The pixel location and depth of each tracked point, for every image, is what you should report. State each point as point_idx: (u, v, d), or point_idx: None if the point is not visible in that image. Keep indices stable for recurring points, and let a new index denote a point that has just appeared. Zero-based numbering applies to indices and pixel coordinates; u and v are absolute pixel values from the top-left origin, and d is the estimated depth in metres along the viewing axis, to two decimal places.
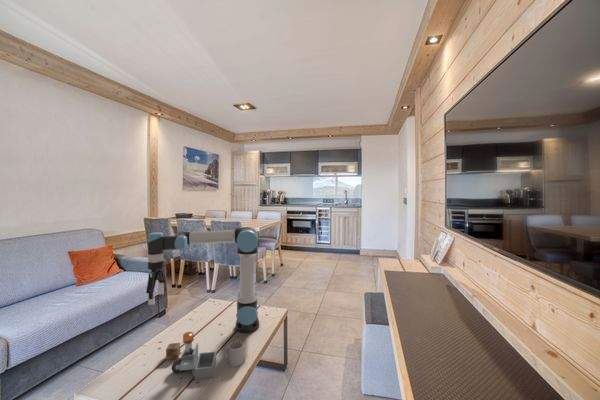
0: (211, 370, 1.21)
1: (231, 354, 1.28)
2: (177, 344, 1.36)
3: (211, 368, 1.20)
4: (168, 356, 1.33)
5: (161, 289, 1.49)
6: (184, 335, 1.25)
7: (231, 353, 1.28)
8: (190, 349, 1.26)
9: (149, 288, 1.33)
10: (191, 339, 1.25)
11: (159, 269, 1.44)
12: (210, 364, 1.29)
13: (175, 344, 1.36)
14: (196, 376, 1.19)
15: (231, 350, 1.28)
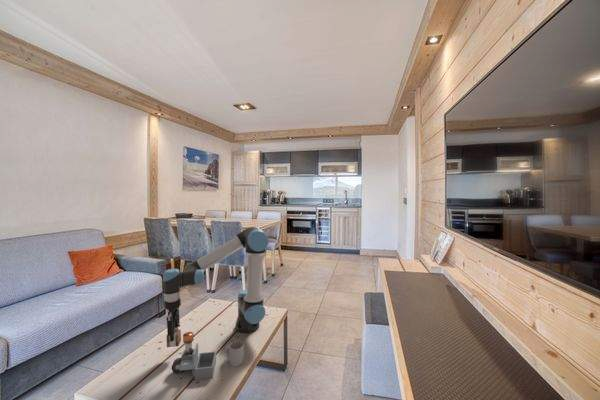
0: (211, 370, 1.21)
1: (231, 354, 1.28)
2: (177, 331, 1.36)
3: (211, 368, 1.20)
4: (168, 343, 1.32)
5: None
6: (184, 335, 1.25)
7: (231, 353, 1.28)
8: (190, 349, 1.26)
9: (170, 331, 1.29)
10: (191, 339, 1.25)
11: None
12: (210, 364, 1.29)
13: (175, 331, 1.36)
14: (196, 376, 1.19)
15: (231, 350, 1.28)
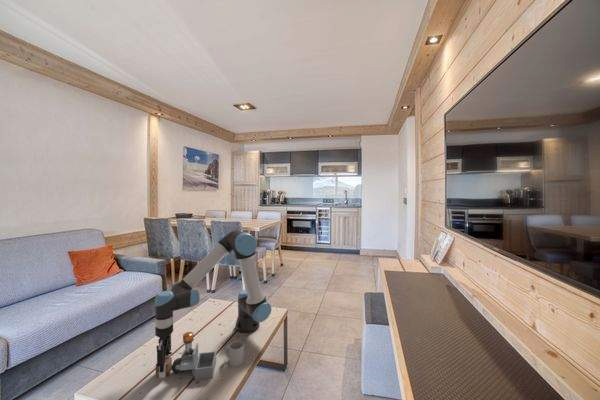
0: (211, 370, 1.21)
1: (231, 354, 1.28)
2: (168, 359, 1.24)
3: (211, 368, 1.20)
4: (158, 373, 1.21)
5: None
6: (184, 335, 1.25)
7: (231, 353, 1.28)
8: (190, 349, 1.26)
9: (160, 362, 1.17)
10: (191, 339, 1.25)
11: None
12: (210, 364, 1.29)
13: (166, 359, 1.24)
14: (196, 376, 1.19)
15: (231, 350, 1.28)
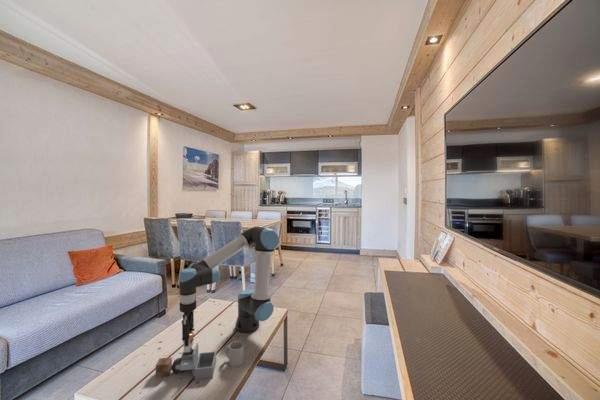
0: (211, 370, 1.21)
1: (231, 354, 1.28)
2: (168, 359, 1.24)
3: (211, 368, 1.20)
4: (158, 373, 1.21)
5: None
6: None
7: (231, 353, 1.28)
8: (190, 349, 1.26)
9: (185, 336, 1.20)
10: (191, 339, 1.25)
11: None
12: (210, 364, 1.29)
13: (166, 359, 1.24)
14: (196, 376, 1.19)
15: (231, 350, 1.28)
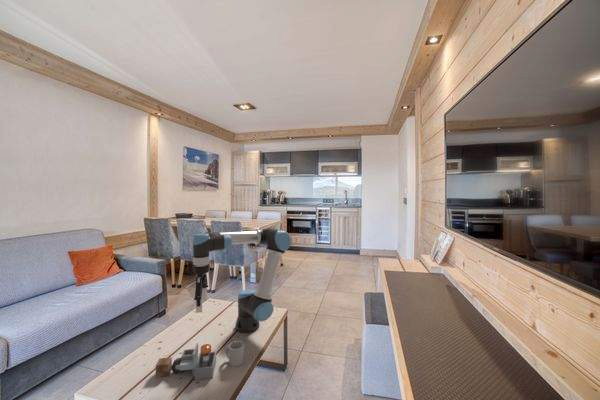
0: (211, 370, 1.21)
1: (231, 354, 1.28)
2: (168, 359, 1.25)
3: (211, 368, 1.20)
4: (158, 373, 1.21)
5: (205, 295, 1.37)
6: (202, 348, 1.25)
7: (231, 353, 1.28)
8: (208, 362, 1.25)
9: (197, 294, 1.22)
10: (209, 352, 1.24)
11: (204, 273, 1.33)
12: (210, 364, 1.29)
13: (166, 359, 1.24)
14: (196, 376, 1.19)
15: (231, 350, 1.28)
